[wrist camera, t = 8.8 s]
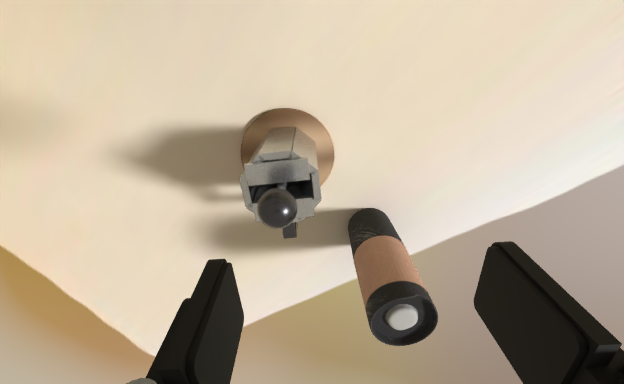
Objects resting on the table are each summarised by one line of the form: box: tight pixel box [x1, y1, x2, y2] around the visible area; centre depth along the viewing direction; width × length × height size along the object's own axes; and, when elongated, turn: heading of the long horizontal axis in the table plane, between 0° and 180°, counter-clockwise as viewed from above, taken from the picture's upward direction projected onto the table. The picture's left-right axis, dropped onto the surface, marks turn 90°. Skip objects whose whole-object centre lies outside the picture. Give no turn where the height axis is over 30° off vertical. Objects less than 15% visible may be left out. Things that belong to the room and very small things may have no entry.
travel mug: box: [348, 208, 438, 346], centre depth 40 cm, size 8×8×20 cm
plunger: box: [257, 158, 299, 229], centre depth 34 cm, size 6×6×15 cm
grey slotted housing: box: [239, 126, 321, 238], centre depth 38 cm, size 12×9×13 cm
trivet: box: [241, 108, 334, 186], centre depth 44 cm, size 14×14×1 cm
